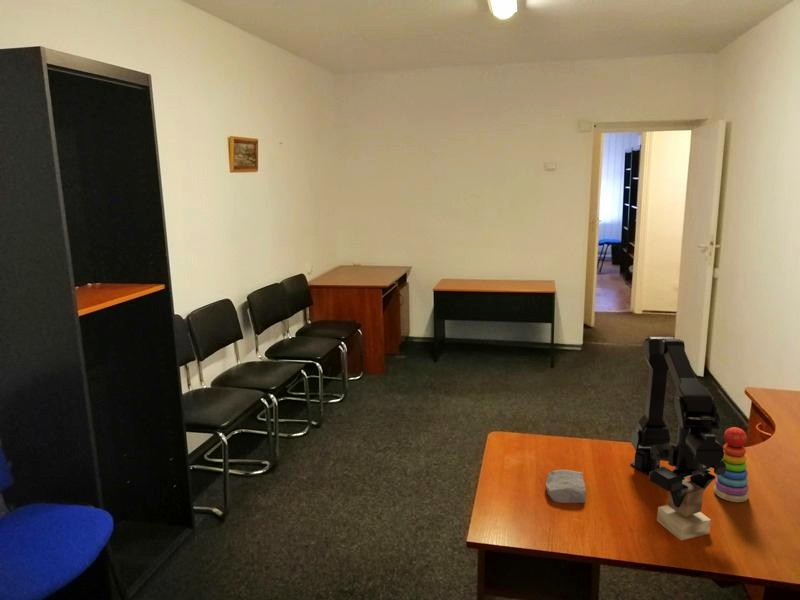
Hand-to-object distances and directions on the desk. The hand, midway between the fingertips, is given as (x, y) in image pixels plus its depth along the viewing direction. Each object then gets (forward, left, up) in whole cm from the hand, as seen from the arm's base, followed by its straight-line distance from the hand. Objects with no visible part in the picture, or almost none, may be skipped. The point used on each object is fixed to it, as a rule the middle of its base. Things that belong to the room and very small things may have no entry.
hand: (684, 503), depth 138 cm
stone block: (+15, -25, -7) cm, 30 cm away
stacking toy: (-22, -4, -6) cm, 23 cm away
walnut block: (0, 0, -1) cm, 1 cm away
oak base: (0, 0, -6) cm, 7 cm away
